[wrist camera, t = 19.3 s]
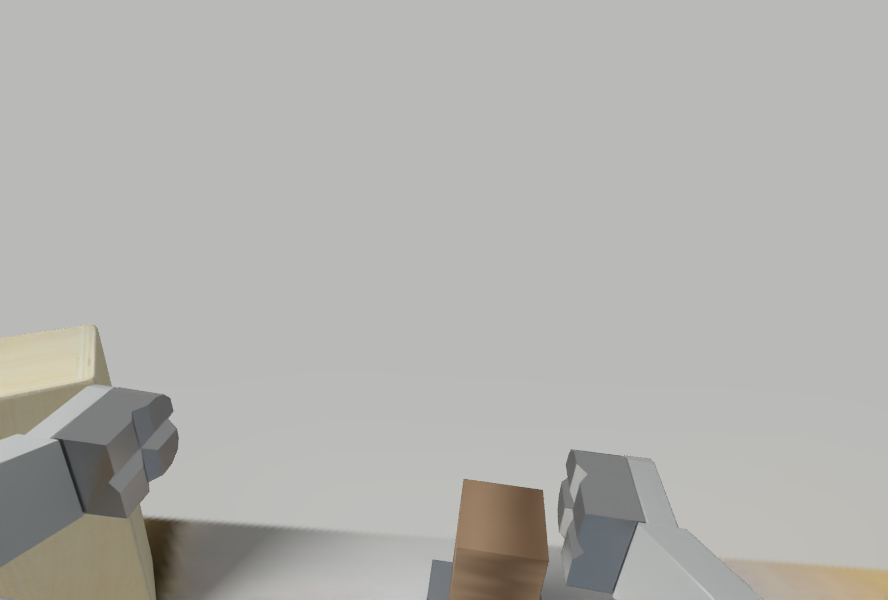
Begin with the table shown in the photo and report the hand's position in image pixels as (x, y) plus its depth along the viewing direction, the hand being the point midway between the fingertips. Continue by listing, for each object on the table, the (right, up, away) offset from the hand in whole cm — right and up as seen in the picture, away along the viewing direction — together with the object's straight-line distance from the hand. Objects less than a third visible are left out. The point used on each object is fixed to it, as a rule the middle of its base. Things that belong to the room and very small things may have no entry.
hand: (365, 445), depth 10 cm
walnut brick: (+4, -19, +24) cm, 31 cm away
